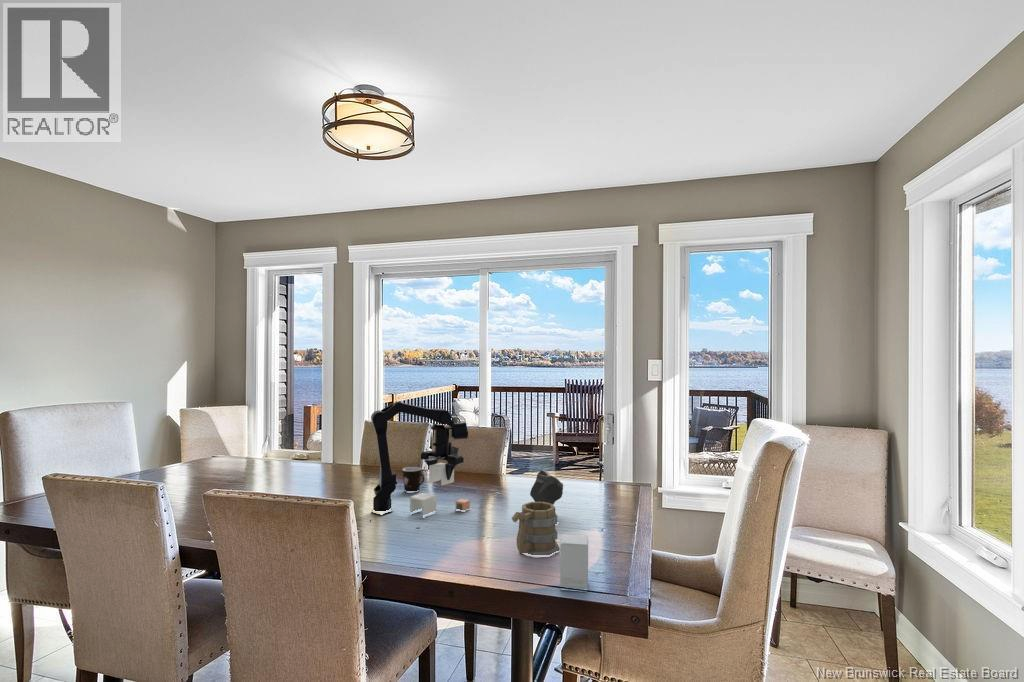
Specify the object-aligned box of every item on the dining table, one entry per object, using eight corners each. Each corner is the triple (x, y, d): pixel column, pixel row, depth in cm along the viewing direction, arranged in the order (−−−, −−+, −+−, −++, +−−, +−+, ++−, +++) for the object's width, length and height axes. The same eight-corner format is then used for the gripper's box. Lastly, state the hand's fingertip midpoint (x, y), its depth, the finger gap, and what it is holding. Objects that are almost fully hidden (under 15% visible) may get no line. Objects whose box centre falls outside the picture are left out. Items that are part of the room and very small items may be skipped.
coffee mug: (400, 490, 237) (400, 468, 237) (418, 488, 240) (419, 466, 241) (406, 496, 226) (406, 473, 226) (425, 494, 230) (425, 471, 230)
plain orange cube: (463, 513, 204) (463, 502, 204) (455, 511, 206) (455, 501, 206) (469, 510, 208) (469, 500, 208) (461, 508, 210) (461, 498, 210)
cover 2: (442, 485, 208) (442, 467, 208) (429, 482, 212) (429, 465, 212) (453, 482, 214) (454, 464, 214) (440, 479, 218) (440, 462, 218)
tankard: (534, 540, 175) (534, 495, 175) (566, 549, 167) (566, 502, 167) (495, 558, 160) (495, 509, 160) (528, 569, 152) (528, 517, 152)
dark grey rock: (570, 513, 203) (570, 467, 203) (557, 525, 189) (557, 475, 190) (536, 509, 209) (536, 463, 209) (521, 520, 195) (521, 472, 195)
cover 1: (423, 518, 197) (424, 499, 197) (409, 515, 201) (409, 496, 201) (436, 513, 203) (436, 495, 203) (422, 510, 207) (422, 492, 207)
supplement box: (587, 593, 137) (587, 544, 137) (559, 591, 138) (559, 542, 138) (588, 581, 144) (588, 535, 144) (561, 578, 145) (561, 533, 146)
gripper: (472, 439, 215) (471, 478, 214) (437, 435, 225) (437, 471, 225) (454, 443, 205) (454, 483, 205) (419, 438, 216) (419, 476, 215)
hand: (441, 478), depth 213 cm, fingers closed on cover 2, 7 cm apart
